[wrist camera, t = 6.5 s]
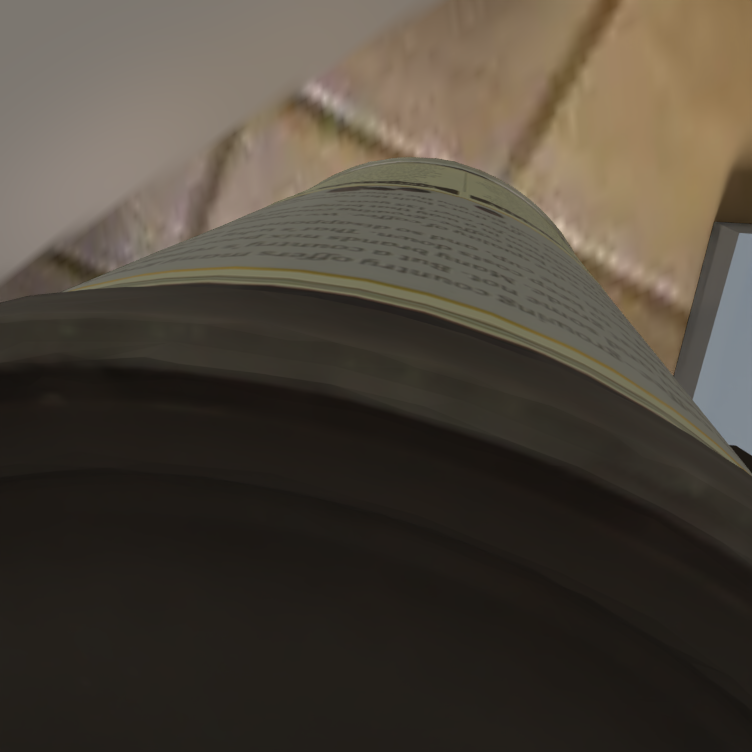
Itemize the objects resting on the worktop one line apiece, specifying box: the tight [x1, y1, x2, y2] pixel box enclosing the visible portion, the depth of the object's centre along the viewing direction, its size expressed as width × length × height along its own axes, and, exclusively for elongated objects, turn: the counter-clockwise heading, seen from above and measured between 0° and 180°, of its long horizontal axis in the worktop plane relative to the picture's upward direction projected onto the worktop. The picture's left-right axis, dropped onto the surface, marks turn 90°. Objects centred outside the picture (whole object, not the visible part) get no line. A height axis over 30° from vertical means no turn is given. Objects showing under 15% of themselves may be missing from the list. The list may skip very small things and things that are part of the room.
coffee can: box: [0, 157, 752, 752], centre depth 11 cm, size 10×10×14 cm
